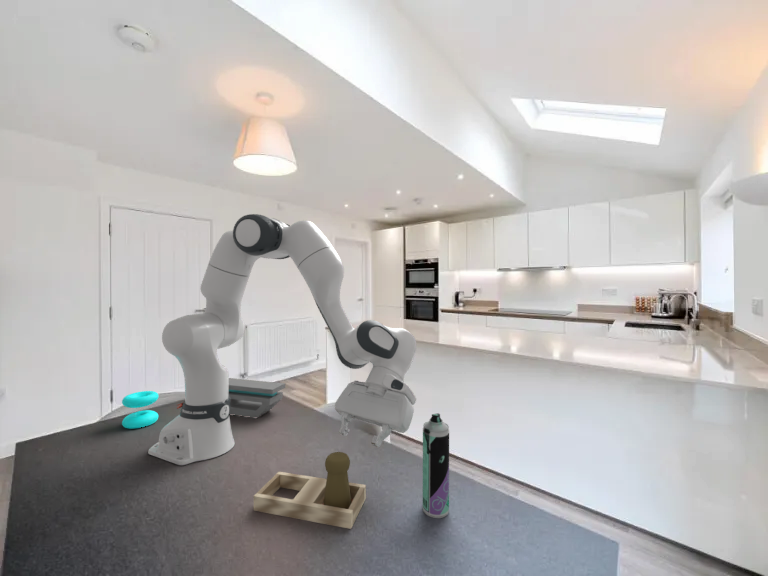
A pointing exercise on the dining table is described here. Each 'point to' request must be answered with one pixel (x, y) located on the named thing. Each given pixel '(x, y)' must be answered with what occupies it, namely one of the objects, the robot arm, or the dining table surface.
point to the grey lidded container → (253, 396)
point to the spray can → (436, 467)
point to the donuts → (140, 417)
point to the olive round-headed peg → (337, 481)
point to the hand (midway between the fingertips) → (358, 439)
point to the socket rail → (308, 500)
